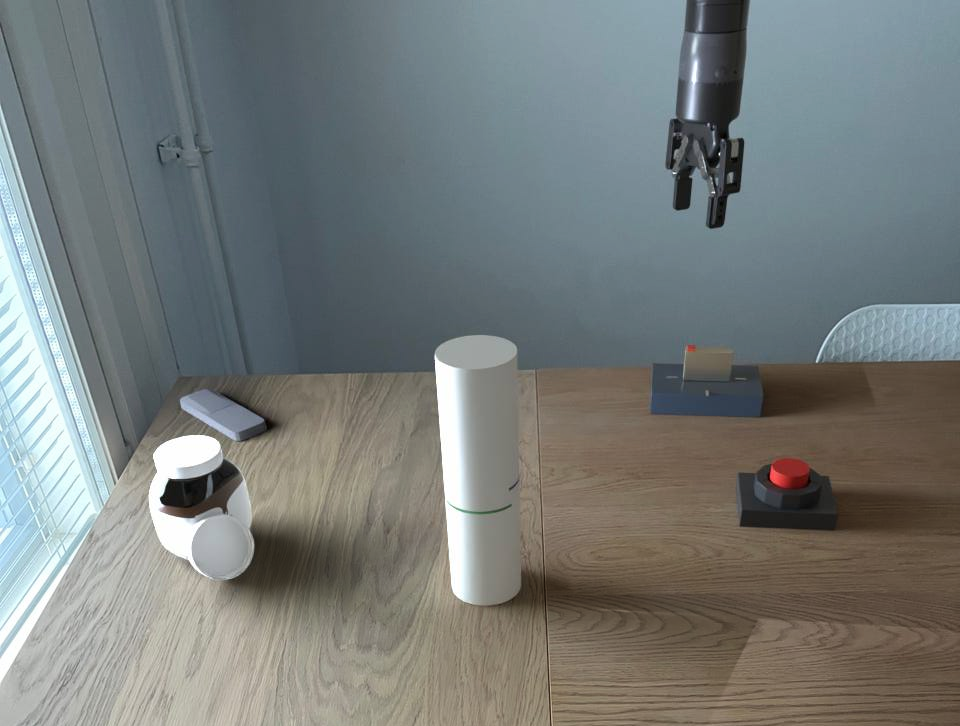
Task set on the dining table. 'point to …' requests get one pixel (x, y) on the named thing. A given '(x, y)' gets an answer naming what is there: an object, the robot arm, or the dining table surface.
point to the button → (789, 473)
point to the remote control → (223, 414)
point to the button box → (785, 502)
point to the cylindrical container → (481, 465)
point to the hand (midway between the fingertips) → (697, 218)
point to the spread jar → (202, 507)
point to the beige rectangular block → (707, 363)
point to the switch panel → (706, 393)
